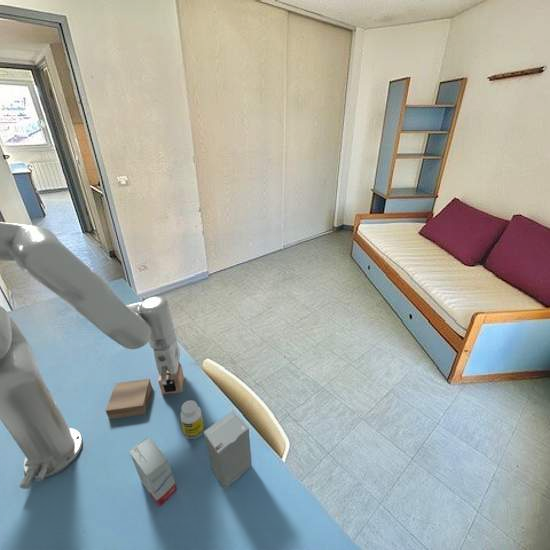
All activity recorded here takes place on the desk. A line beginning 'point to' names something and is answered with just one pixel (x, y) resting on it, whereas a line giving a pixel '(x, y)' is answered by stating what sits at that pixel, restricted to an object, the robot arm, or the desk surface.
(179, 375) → the terracotta cube
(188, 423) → the supplement bottle
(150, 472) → the ink box
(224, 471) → the skincare box
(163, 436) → the desk surface
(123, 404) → the walnut block
